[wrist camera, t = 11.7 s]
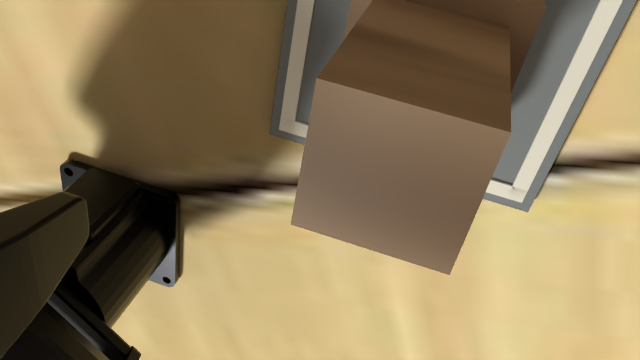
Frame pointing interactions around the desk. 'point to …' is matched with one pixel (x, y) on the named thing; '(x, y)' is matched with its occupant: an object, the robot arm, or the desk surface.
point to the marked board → (526, 97)
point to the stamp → (412, 123)
